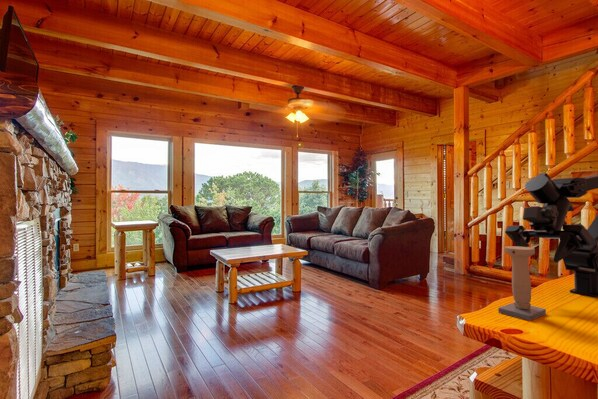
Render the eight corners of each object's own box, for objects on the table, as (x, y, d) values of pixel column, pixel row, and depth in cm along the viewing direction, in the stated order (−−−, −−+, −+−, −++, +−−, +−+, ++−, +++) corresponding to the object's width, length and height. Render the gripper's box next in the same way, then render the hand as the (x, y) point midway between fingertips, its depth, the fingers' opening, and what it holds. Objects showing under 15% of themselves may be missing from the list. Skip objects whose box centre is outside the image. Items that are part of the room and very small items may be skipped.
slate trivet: (515, 306, 86) (515, 301, 86) (545, 313, 80) (545, 309, 80) (498, 312, 82) (498, 307, 82) (529, 320, 76) (529, 315, 76)
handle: (530, 313, 78) (527, 250, 78) (503, 306, 83) (500, 247, 84) (542, 309, 80) (538, 248, 80) (515, 302, 86) (511, 245, 86)
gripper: (504, 198, 97) (485, 240, 92) (578, 191, 81) (560, 242, 75) (524, 222, 100) (506, 264, 95) (600, 220, 84) (583, 270, 78)
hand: (535, 260), depth 86 cm, fingers open, 9 cm apart
